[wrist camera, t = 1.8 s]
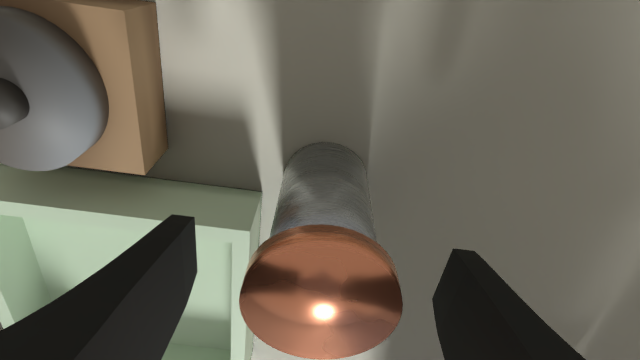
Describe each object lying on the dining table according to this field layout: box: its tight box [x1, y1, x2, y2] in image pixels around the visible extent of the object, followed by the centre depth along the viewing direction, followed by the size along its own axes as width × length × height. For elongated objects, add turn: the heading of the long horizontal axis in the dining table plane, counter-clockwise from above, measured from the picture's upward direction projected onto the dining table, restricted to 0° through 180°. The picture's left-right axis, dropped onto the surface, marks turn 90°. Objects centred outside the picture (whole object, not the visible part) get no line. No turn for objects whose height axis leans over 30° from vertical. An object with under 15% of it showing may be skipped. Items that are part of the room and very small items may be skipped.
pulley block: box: [0, 0, 168, 175], centre depth 11 cm, size 6×5×4 cm
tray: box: [0, 163, 262, 360], centre depth 16 cm, size 10×10×2 cm
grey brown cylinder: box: [239, 143, 403, 359], centre depth 12 cm, size 4×4×6 cm
